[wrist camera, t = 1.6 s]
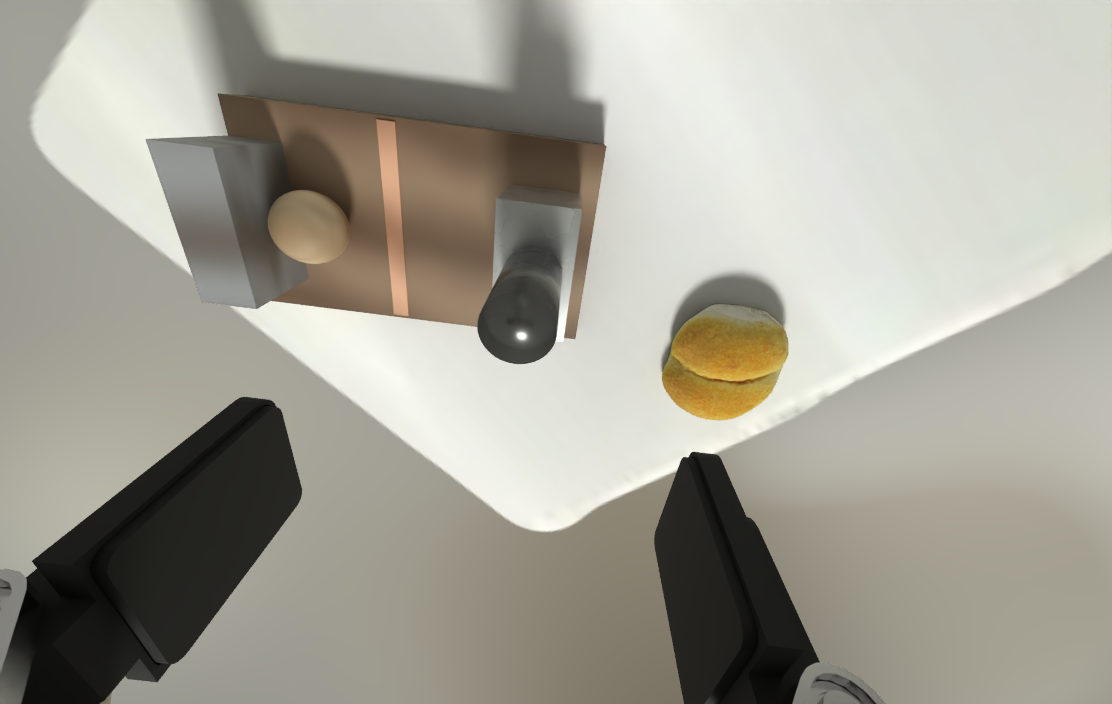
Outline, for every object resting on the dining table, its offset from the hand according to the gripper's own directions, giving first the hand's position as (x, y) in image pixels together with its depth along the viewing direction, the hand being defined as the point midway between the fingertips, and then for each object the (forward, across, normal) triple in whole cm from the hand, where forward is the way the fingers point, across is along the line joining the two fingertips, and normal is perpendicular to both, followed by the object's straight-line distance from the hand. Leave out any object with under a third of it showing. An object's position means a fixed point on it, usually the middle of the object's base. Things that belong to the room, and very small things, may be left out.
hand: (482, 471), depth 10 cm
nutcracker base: (+20, +8, -1) cm, 21 cm away
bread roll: (+20, -14, +6) cm, 26 cm away
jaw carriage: (+17, 0, -1) cm, 17 cm away
